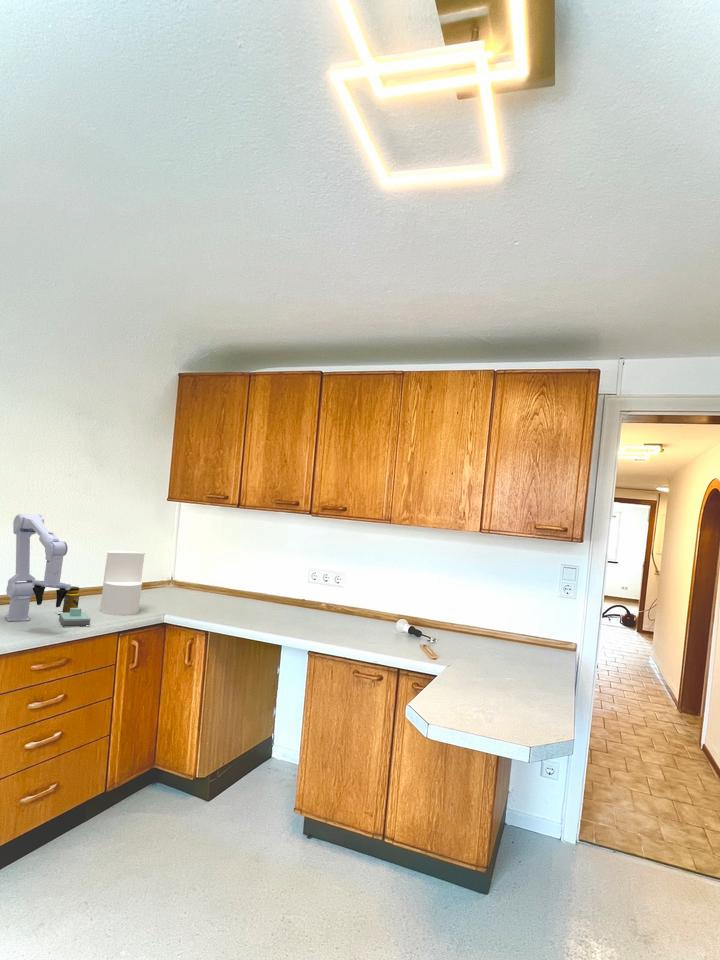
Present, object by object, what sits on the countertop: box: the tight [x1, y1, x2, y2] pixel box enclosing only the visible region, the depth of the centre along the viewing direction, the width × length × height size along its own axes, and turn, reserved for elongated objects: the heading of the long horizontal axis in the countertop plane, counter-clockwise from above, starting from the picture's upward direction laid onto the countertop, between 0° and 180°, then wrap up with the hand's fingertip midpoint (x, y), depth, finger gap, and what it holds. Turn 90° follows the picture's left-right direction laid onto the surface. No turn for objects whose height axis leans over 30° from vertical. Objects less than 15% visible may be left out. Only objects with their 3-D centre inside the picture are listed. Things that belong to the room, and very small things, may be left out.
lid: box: [59, 607, 91, 621], centre depth 239 cm, size 12×10×4 cm
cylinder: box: [99, 549, 145, 616], centre depth 270 cm, size 17×17×28 cm
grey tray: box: [58, 615, 91, 627], centre depth 239 cm, size 12×10×2 cm
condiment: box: [61, 585, 80, 613], centre depth 254 cm, size 7×8×12 cm
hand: (48, 605), depth 224 cm, fingers open, 7 cm apart
